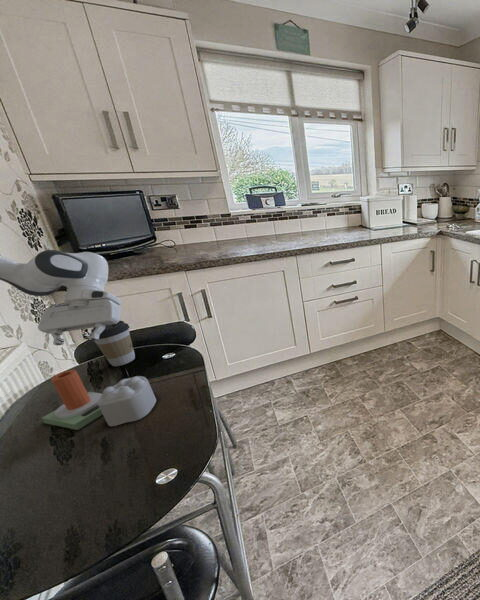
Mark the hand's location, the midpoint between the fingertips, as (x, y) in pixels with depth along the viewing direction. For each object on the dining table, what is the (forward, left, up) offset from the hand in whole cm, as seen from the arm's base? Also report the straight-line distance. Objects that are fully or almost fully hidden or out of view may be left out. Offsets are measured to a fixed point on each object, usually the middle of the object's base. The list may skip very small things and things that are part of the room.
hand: (76, 341), depth 97 cm
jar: (+4, -8, -16) cm, 18 cm away
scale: (+5, -8, -19) cm, 21 cm away
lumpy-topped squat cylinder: (+19, -4, -19) cm, 27 cm away
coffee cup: (-16, +17, -19) cm, 30 cm away
